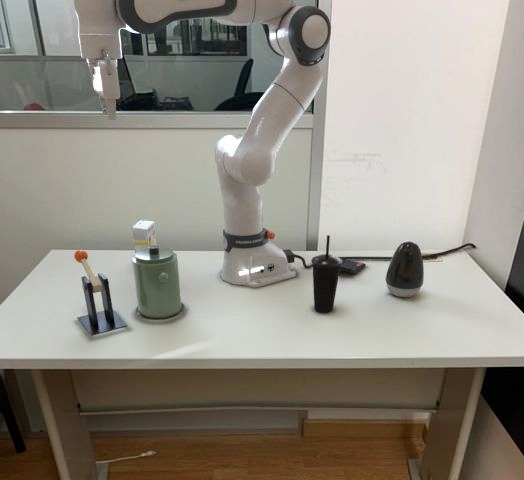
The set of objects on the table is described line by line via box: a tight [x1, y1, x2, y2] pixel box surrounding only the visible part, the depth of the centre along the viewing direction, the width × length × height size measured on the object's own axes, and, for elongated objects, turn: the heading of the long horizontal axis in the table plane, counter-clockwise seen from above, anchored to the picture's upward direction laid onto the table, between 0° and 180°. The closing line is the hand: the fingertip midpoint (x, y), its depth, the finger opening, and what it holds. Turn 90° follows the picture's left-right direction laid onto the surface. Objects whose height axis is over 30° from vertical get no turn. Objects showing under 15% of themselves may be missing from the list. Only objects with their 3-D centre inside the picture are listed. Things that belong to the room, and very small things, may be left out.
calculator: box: [339, 258, 366, 275], centre depth 162 cm, size 9×12×3 cm
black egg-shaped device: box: [384, 240, 425, 298], centre depth 144 cm, size 10×10×15 cm
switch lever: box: [73, 249, 102, 294], centre depth 128 cm, size 13×3×3 cm, turn 33°
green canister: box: [131, 244, 185, 321], centre depth 133 cm, size 18×12×18 cm
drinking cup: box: [310, 234, 342, 314], centre depth 135 cm, size 8×8×20 cm
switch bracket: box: [76, 272, 128, 337], centre depth 129 cm, size 11×9×13 cm
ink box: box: [131, 219, 157, 254], centre depth 167 cm, size 9×5×12 cm, turn 174°
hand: (109, 116), depth 125 cm, fingers open, 8 cm apart
